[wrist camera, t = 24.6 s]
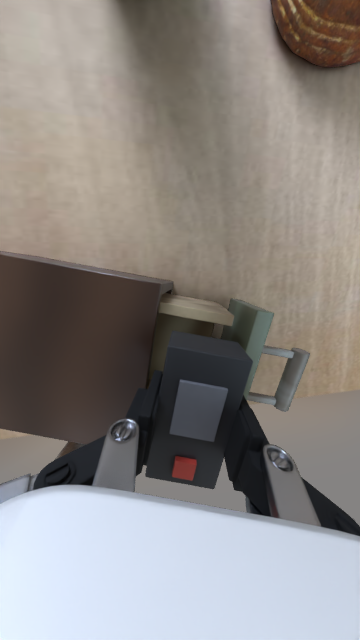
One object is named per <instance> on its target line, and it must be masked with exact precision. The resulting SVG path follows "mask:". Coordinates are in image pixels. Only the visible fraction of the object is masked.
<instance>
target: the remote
mask: <svg viewBox="0 0 360 640" xmlns="http://www.w3.org/2000/svg"><path fill="white" fill-rule="evenodd" d="M252 364H253V360H252V359H251V358H250V357H249V355H248V354H247V353H246V352H245V351H244V349H243V348H242V347H241V346H240V344H239V343H238V342H233V341H228V340H222V339H217V338H211V337H206V336H201V335H195V334H190V333H184V332H179V331H172V333H171V337H170V340H169V343H168V347H167V353H166V358H165V364H164V370H163V376H162V382H161V387H160V393H159V396H160V400H159V405H158V411H157V417H156V422H155V428H154V434H153V440H152V445H151V449H150V454H149V458H148V463H147V468H146V477H149V478H155V479H160V480H166V481H171V482H177V483H182V484H188V485H194V486H199V487H204V488H210V489H214V488H215V485H216V481H217V478H218V475H219V471H220V468H221V465H222V462H223V458H224V453H225V449H226V446H227V443H228V440H229V436H230V433H231V430H232V427H233V423H234V420H235V417H236V414H237V410H239V407H240V403H241V400H242V397H243V394H244V390H245V387H246V384H247V381H248V377H249V374H250V371H251V368H252Z"/></svg>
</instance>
